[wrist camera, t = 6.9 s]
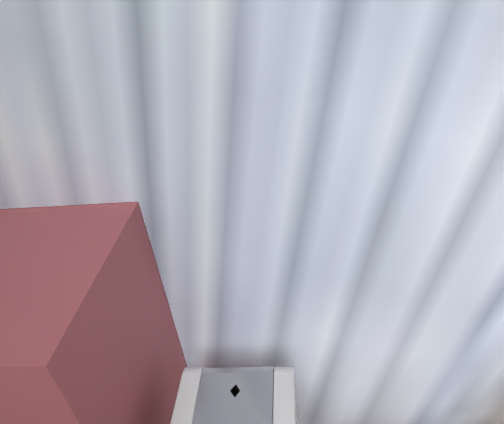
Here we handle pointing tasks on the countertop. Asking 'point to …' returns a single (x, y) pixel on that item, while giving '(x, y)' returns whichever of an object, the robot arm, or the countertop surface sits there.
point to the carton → (84, 319)
